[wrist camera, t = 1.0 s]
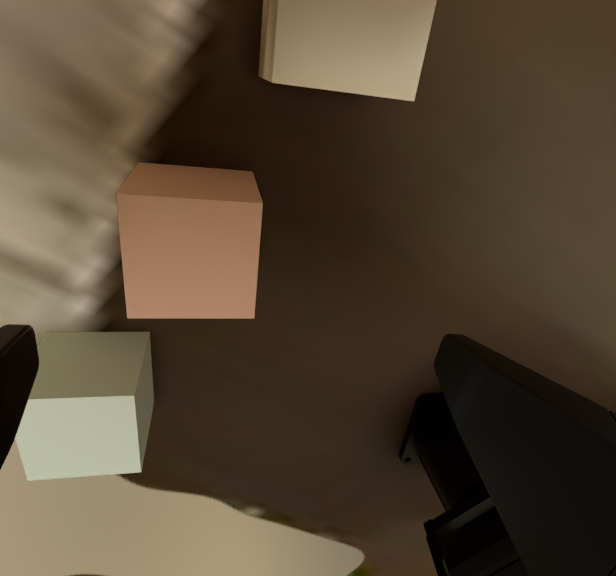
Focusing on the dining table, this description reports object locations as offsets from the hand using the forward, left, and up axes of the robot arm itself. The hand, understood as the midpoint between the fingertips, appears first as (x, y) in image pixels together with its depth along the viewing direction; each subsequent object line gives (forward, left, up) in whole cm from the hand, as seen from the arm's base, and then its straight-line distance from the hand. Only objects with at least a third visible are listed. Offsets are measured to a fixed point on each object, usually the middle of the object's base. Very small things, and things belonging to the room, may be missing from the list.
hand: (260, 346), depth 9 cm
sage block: (-11, +7, -12) cm, 18 cm away
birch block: (+7, -3, -12) cm, 15 cm away
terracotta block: (-2, +2, -12) cm, 13 cm away
